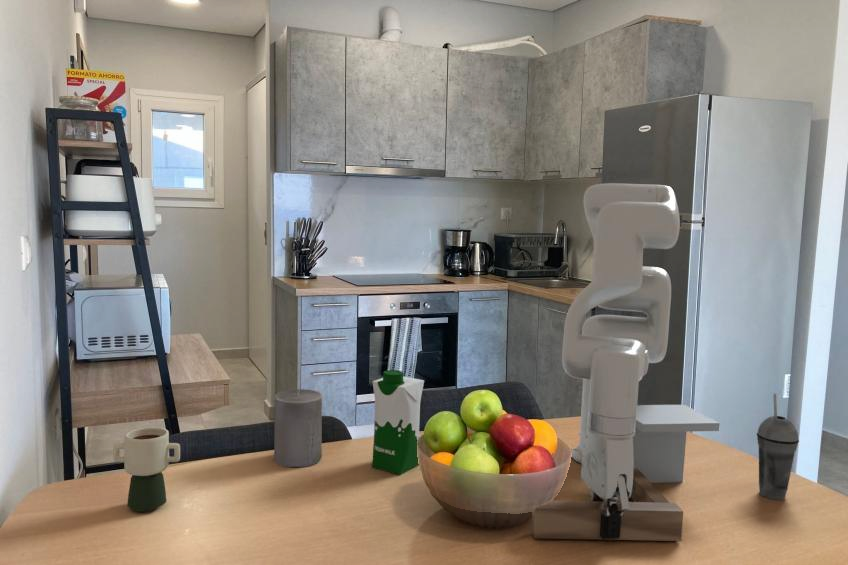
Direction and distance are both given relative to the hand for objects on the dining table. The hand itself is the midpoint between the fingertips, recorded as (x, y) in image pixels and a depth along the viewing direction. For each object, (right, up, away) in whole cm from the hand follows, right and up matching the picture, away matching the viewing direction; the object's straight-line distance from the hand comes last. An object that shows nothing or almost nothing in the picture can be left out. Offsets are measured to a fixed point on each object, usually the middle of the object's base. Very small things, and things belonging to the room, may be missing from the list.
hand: (604, 530), depth 112 cm
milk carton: (-35, +3, +29) cm, 45 cm away
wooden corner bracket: (0, 0, +9) cm, 9 cm away
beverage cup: (+38, -1, +21) cm, 43 cm away
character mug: (-77, +2, +5) cm, 77 cm away
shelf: (+16, 0, +20) cm, 25 cm away
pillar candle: (-56, +4, +30) cm, 64 cm away
